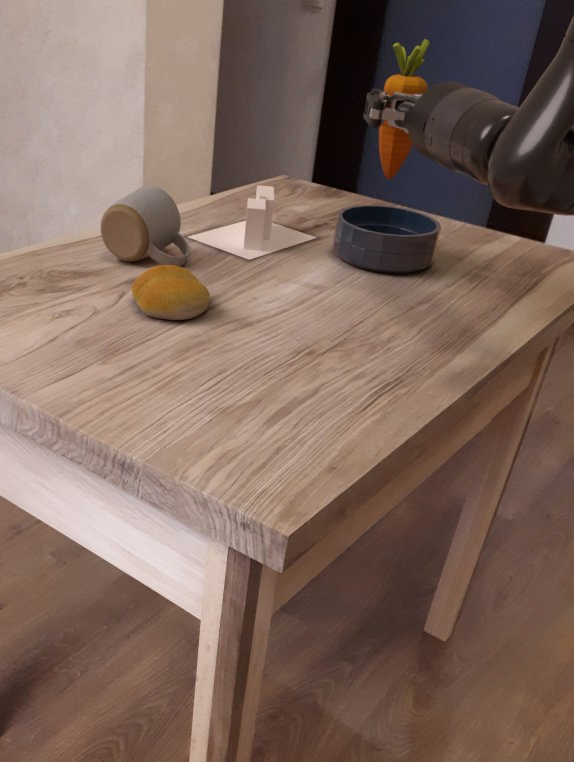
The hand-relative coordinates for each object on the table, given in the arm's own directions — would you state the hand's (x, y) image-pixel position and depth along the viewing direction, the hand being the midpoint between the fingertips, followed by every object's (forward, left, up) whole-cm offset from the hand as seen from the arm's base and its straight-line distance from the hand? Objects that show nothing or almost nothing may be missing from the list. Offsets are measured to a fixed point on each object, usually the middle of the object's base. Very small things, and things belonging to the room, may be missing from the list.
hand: (393, 99), depth 94 cm
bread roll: (+32, +5, -19) cm, 38 cm away
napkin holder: (+10, -12, -19) cm, 25 cm away
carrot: (+1, +3, -9) cm, 9 cm away
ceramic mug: (+27, -10, -19) cm, 35 cm away
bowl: (-2, +1, -19) cm, 19 cm away
